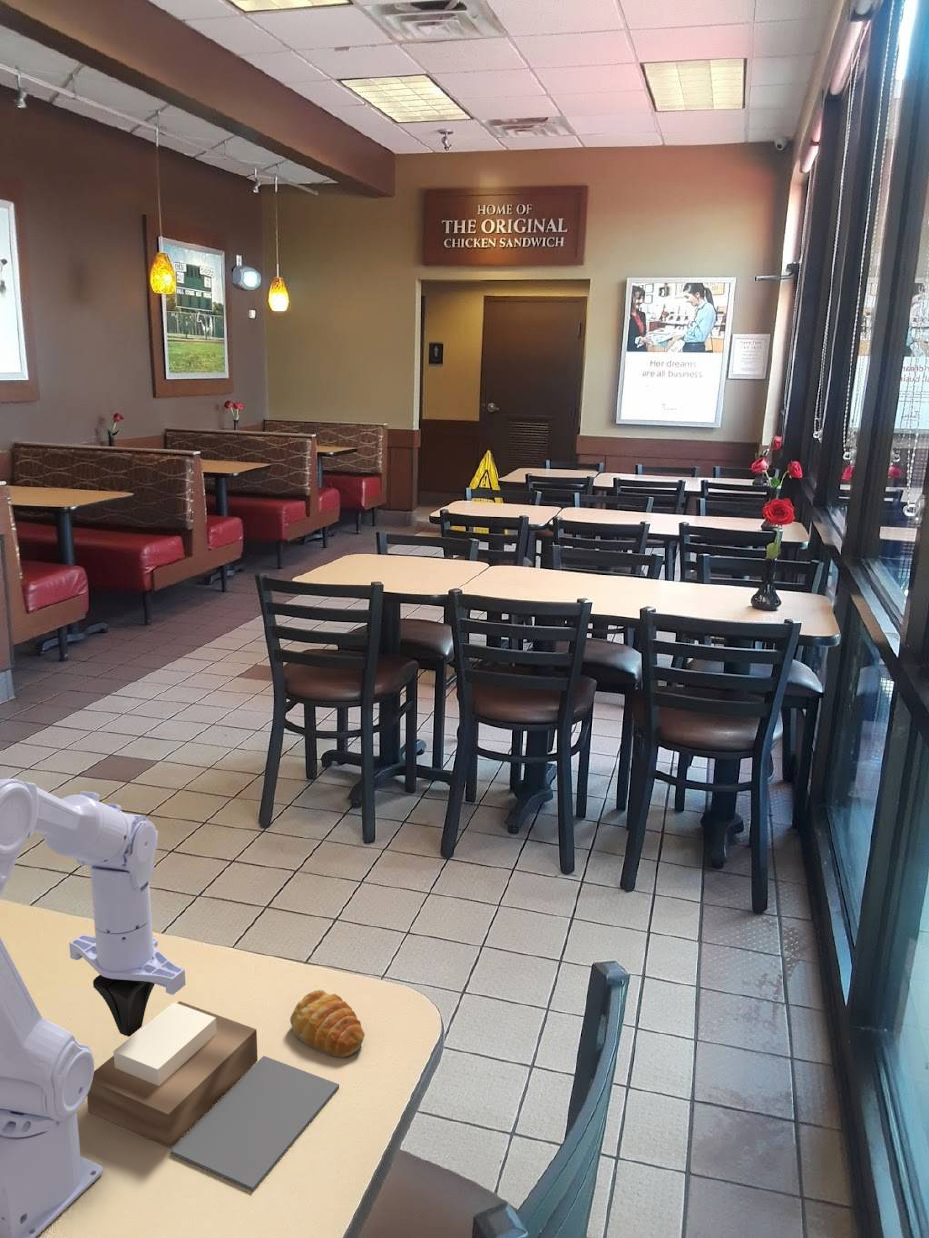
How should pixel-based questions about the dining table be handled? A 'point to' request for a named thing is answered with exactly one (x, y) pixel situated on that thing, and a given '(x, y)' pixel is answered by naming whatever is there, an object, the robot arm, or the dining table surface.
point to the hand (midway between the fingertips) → (131, 1029)
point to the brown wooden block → (175, 1085)
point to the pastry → (327, 1024)
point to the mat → (255, 1122)
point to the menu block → (165, 1043)
